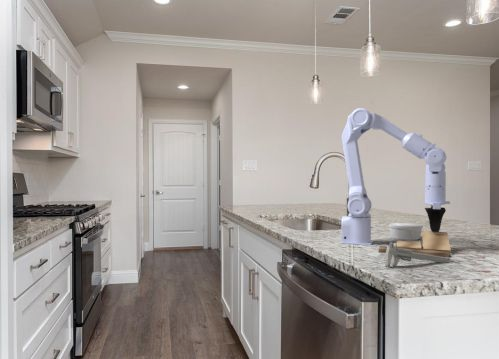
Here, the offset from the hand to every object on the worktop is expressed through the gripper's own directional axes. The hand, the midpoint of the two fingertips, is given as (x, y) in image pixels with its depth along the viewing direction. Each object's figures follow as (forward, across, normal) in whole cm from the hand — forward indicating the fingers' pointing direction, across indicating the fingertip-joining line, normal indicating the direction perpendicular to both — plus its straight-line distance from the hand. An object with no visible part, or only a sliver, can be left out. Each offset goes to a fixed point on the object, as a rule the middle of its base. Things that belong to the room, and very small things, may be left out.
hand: (434, 231), depth 117 cm
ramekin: (+6, +18, +8) cm, 20 cm away
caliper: (+6, -25, +5) cm, 26 cm away
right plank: (+3, -3, 0) cm, 5 cm away
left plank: (+5, -3, +7) cm, 10 cm away
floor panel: (+5, -12, +6) cm, 14 cm away
